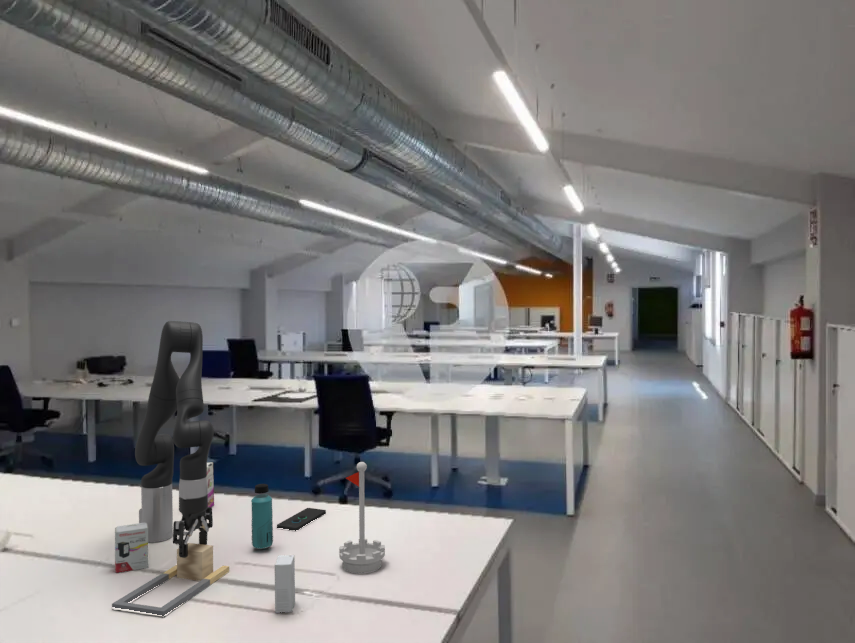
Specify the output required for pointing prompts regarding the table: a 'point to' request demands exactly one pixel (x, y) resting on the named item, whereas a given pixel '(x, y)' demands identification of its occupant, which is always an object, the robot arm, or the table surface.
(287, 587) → the skincare box
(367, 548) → the flag stand
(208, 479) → the candy bar box
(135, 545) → the ink box
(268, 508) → the beverage bottle
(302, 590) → the table surface
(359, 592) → the table surface
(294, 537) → the table surface
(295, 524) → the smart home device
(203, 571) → the wooden block
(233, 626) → the table surface
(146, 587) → the rail bay
